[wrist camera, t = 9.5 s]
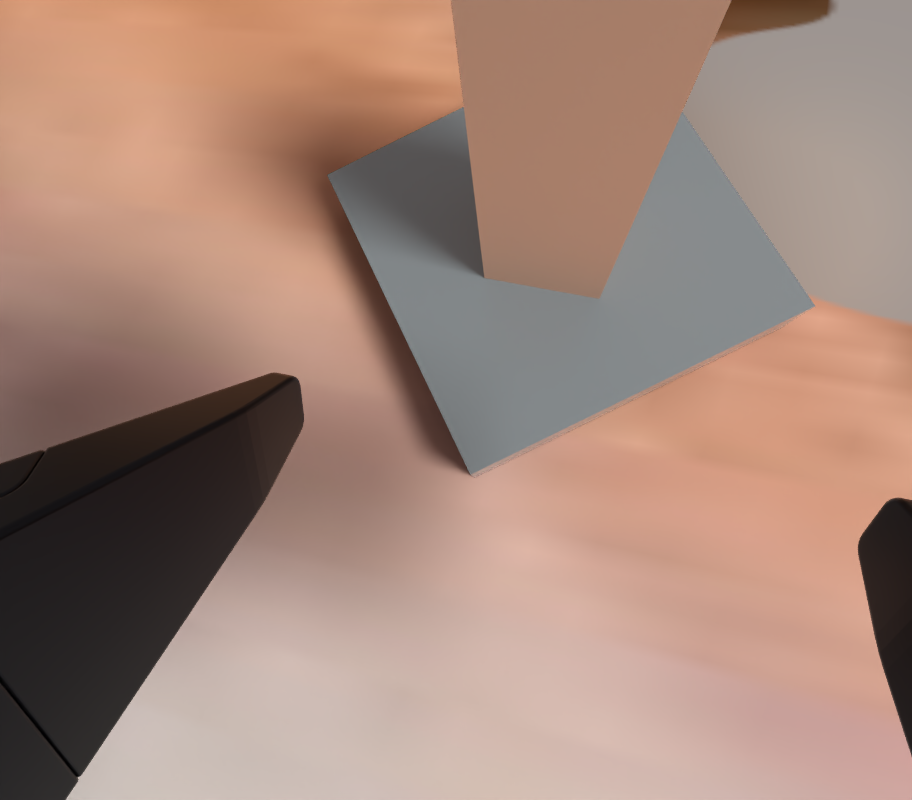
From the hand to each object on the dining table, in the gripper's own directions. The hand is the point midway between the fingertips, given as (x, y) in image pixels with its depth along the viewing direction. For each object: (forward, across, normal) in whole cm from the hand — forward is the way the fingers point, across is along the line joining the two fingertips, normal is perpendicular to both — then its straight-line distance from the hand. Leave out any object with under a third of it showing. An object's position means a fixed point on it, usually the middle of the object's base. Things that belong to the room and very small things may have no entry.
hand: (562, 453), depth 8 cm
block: (+14, +1, +1) cm, 15 cm away
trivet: (+16, +1, +2) cm, 17 cm away
